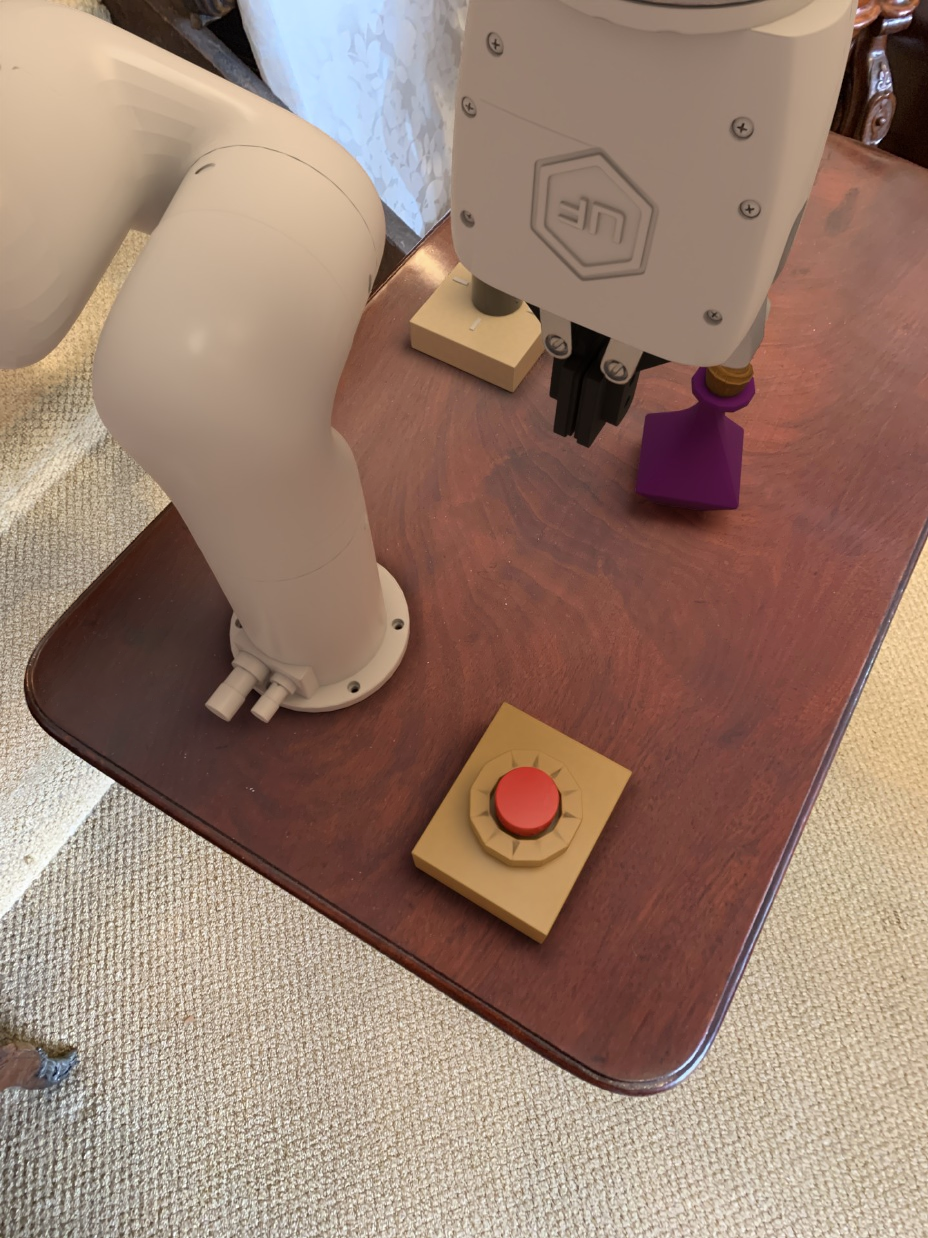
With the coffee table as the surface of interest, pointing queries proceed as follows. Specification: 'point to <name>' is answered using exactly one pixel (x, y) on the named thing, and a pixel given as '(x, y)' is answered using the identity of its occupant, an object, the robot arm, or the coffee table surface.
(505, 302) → the knob
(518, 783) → the button
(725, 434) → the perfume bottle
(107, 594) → the coffee table surface
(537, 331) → the panel
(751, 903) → the coffee table surface
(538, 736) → the button box
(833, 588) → the coffee table surface
